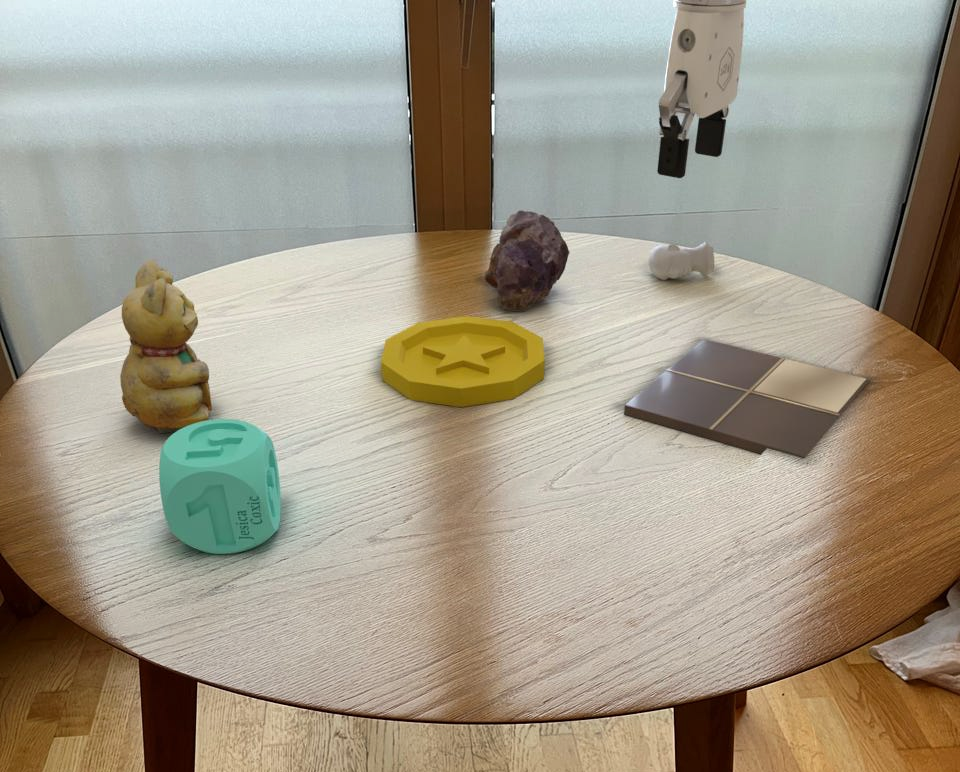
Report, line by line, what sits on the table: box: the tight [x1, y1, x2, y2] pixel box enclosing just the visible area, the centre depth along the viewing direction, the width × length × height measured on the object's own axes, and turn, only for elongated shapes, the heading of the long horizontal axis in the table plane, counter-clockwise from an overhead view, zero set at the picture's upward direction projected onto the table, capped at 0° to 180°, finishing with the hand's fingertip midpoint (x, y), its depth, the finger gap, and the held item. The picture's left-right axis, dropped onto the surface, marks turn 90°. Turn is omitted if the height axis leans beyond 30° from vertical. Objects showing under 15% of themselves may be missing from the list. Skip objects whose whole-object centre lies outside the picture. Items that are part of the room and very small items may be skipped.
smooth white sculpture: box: [648, 241, 715, 281], centre depth 122 cm, size 4×8×5 cm
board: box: [623, 338, 871, 459], centre depth 98 cm, size 18×18×1 cm
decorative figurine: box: [119, 259, 213, 434], centre depth 92 cm, size 10×8×15 cm
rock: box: [483, 209, 570, 312], centre depth 117 cm, size 12×9×10 cm
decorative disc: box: [380, 315, 545, 408], centre depth 104 cm, size 17×18×2 cm
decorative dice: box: [158, 418, 282, 555], centre depth 80 cm, size 8×8×8 cm
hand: (689, 165), depth 115 cm, fingers open, 9 cm apart
